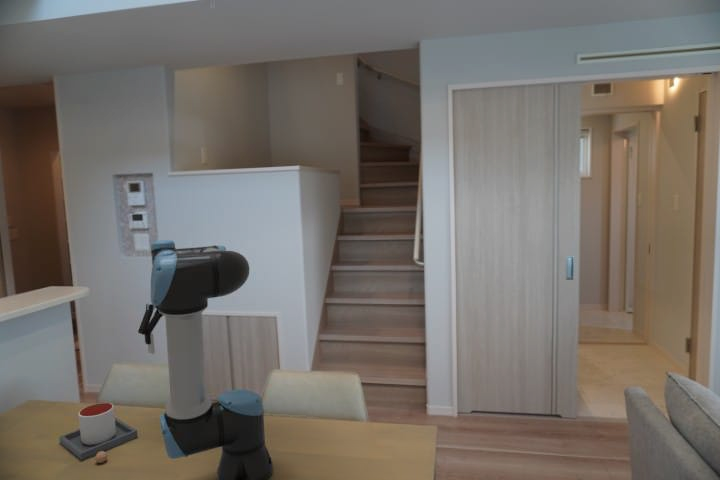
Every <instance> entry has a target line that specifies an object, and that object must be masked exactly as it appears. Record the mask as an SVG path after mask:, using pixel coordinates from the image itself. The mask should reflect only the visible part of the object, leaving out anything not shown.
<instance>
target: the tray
mask: <svg viewBox="0 0 720 480" xmlns="http://www.w3.org/2000/svg"><path fill="white" fill-rule="evenodd" d="M115 427H116V433H115V435H114V436H113V438H111V439H110V440H108V441H106V442H104V443H101V444H97V445H86V444H84V443H83V442H82V441H81V435H80V428H78V429H76V430H73V431H71V432H68V433H66V434H63V435H60V436H59V437H58V438H59V444H60V445H61V446H62V447H63V448H65V449H66V450H67V451H69V453H71V454H72V455H73V456H75V457H76V458H77V459H78V460H80V462H83V461H86V460H88V459H90V458H92V457H96V455H97V453H99V452H101V451H104V452H107V451H110V450H112V449H114V448H116V447H119V446H122V445H124V444H126V443H128V442H130V441H133V440H135V439H138V430H136V429H135V428H134V427H132V426H130V425H129V424H127V423H125V422H123V421H122V420H120V419H119V418H117V417H115Z"/></svg>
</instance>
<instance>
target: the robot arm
mask: <svg viewBox="0 0 720 480" xmlns="http://www.w3.org/2000/svg"><path fill="white" fill-rule="evenodd" d="M150 253H151V263H152V264H151V266H152V267H151V275H150V303H146V305H145V311H144V315H143V318H142V321H141V323H140V325H139V328H138V330H137V333H138V334H140V335H144V342H145V345H147V349H148V353H149V354H152V355H154V354H155V352H156V351H155V350H156V349H155V340H154V333H153V330H155V327H156V325H157V324H158V323H159V321H160V319H161V318H162V317H164V318H165V319H164V320H165V333H166V335H165V336H166V348H167V362H168V363H167V365H168V366H167V367H168V378H169V379H168V382H169V393H170V394H169V395H170V397H169V398H170V400H169V401H168V402H167V403H166V405H165V407H164V412H162V413H161V414H160V415H159V416H158V418H159V424H160V428H161V432H162V437H163V441H164V446H165V450H166V455H167V456H168V457H169V458H170V459H174V460H175V459H180V458H183V457H184V458H187V457H189V456H191V455H196V454H200V453H203V452H207V451H211V450H214V449H218V448H222V449H221V450H222V451H221V456H220V460H219V463H218V467H217V471H216V474H217V475H216V476H217V478H216V479H217V480H268V479H269V478H270V477H271V476H272V474H273V469H274V468H273V459H272V458H271V454H270V452H269V450H268V448H267V446H266V441H265V439H266V438H265V420H264V413H265V410H264V405H263V399H262V397H261V396H260V395H259V394H258V393H257V392H254V391H252V390H247V389H232V390H227V391H225V392H222V393H221V394H220V395H219V397H218V399H217V400H218V401H214V402H213V401H212V398H211V397H210V396H208V395H207V394H206V378H205V375H206V374H205V357H204V354H205V353H204V338H203V337H204V335H203V334H204V333H203V316H202V315H203V312H204V311H206V309H208V307H209V304H208V301H209V300H208V299H215V298H219V297H224V296H225V297H226V296H228V295H230V294H232V293H234V292H236V291H237V290H239V289H241V288H242V287H243V286H244V284H245V283H246V282H247V281H248V279H249V275H250V265H249V262H248V260H247V258H246V257H245V256H244V255H242V254H241V253H239V252H237V251H234V250H227V249H226V247H225V245H211V246H198V247H186V248H177V247H176V244H175V242H174V240H169V239H168V240H156V241H153V242H151V245H150ZM155 309H156V310H155ZM154 310H155V312H154ZM153 313H154V315H153ZM152 315H153V316H152Z"/></svg>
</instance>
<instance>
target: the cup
mask: <svg viewBox="0 0 720 480" xmlns="http://www.w3.org/2000/svg"><path fill="white" fill-rule="evenodd" d="M115 416H116V415H115V407H114V404H113V403H111V402H99V403H94V404H90V405H87V406H85V407H83V408H82V409H80V410H79V412H78V423H79V429H80V435H81V441H82V442H83V443H84V444H86V445H97V444H101V443H104V442H106V441H108V440H110V439H111V438H113V436H114V435H115V433H116V427H115V418H116V417H115Z"/></svg>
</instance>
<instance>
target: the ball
mask: <svg viewBox="0 0 720 480" xmlns="http://www.w3.org/2000/svg"><path fill="white" fill-rule="evenodd" d="M94 457H95V458H94V459H95V461H96V463H98V464H101V463H102V464H103V463H104V462H106V461H107V459H108V453H107V451H105V452H104V451H101V452H99V453H97V455H95V456H94Z"/></svg>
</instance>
